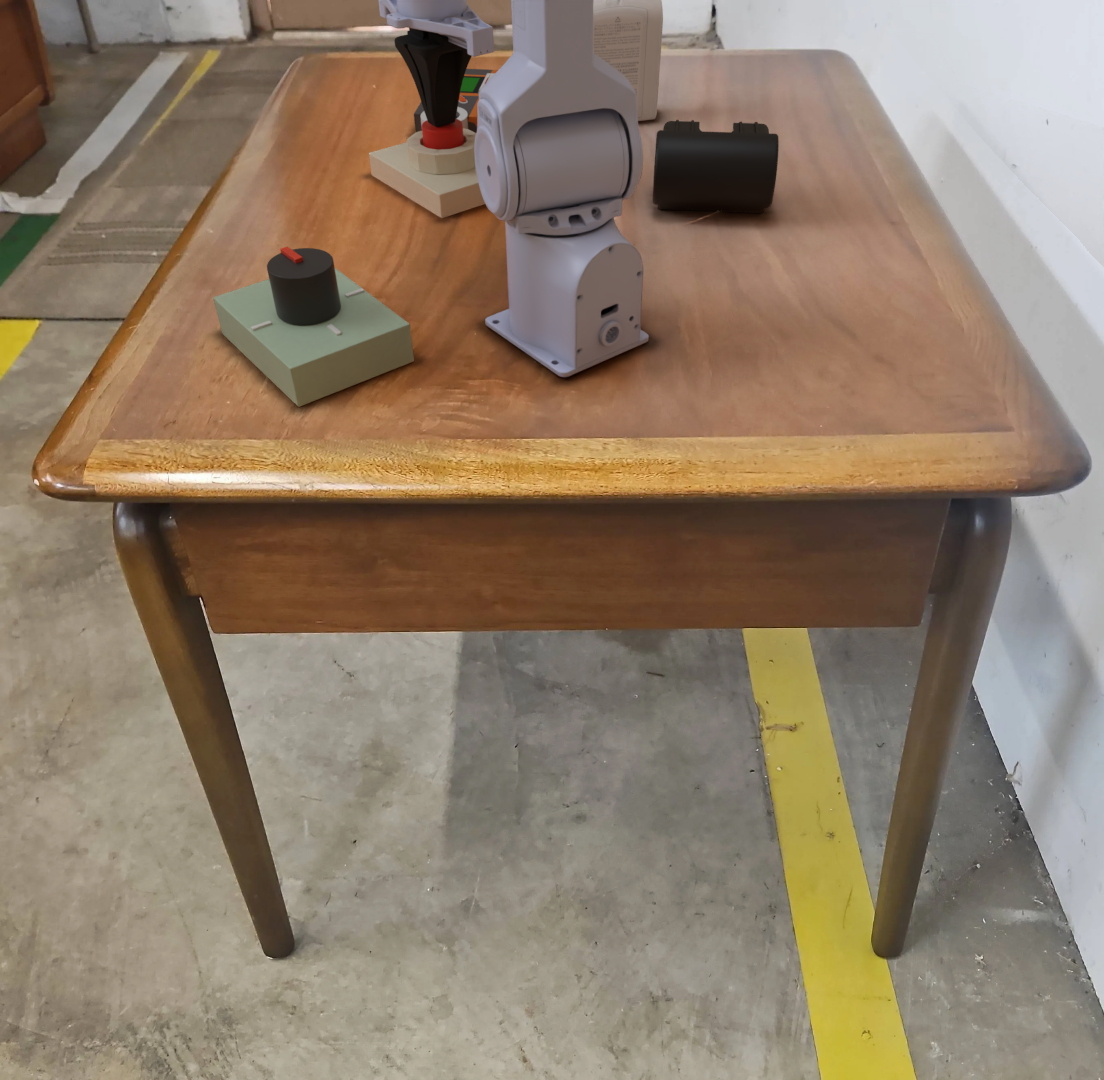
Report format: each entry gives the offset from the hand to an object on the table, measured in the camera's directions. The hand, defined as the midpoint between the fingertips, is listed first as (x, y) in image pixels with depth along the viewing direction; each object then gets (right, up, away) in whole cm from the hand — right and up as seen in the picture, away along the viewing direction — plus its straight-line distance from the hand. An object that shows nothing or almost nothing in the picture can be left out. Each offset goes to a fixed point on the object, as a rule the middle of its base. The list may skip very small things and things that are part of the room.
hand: (441, 122), depth 90 cm
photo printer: (+16, +6, +15) cm, 23 cm away
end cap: (+24, -8, -1) cm, 25 cm away
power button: (0, -1, +1) cm, 2 cm away
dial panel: (-7, -23, -17) cm, 30 cm away
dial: (-7, -21, -19) cm, 29 cm away
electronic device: (0, +7, +16) cm, 17 cm away
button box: (0, -4, +4) cm, 6 cm away
